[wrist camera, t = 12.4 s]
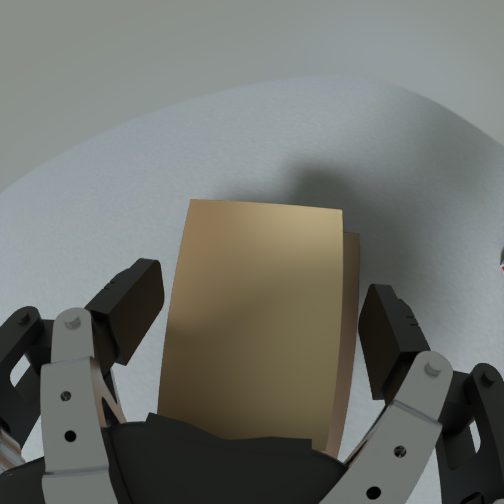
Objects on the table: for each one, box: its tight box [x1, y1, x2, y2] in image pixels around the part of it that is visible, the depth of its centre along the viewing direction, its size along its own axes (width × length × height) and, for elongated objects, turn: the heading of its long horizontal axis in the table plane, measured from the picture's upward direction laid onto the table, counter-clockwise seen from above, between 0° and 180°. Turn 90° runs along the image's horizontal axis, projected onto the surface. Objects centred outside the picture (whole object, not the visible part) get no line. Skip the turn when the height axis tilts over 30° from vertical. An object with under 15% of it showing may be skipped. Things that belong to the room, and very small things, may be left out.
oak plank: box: [157, 199, 343, 451], centre depth 11 cm, size 4×6×11 cm, turn 174°
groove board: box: [320, 232, 359, 459], centre depth 15 cm, size 12×16×4 cm
